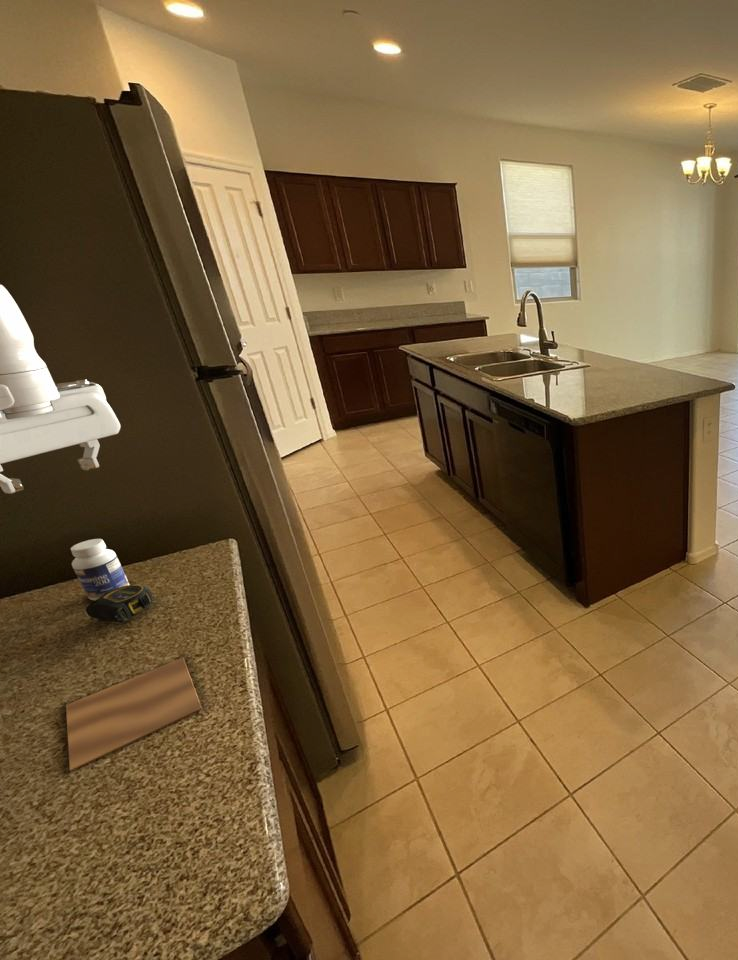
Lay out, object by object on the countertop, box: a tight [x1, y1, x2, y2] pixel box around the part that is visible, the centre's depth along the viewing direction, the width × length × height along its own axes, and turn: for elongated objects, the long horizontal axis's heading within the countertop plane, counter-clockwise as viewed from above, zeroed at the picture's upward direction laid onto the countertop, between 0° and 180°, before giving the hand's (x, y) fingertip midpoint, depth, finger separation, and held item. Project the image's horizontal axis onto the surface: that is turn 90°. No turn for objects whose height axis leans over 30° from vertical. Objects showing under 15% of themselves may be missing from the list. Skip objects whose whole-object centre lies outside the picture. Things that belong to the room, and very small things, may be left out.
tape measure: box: [85, 584, 154, 623], centre depth 85 cm, size 7×7×4 cm
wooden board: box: [65, 657, 203, 772], centre depth 67 cm, size 14×12×1 cm
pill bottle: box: [70, 538, 130, 601], centre depth 90 cm, size 5×5×10 cm
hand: (54, 479), depth 81 cm, fingers open, 8 cm apart
